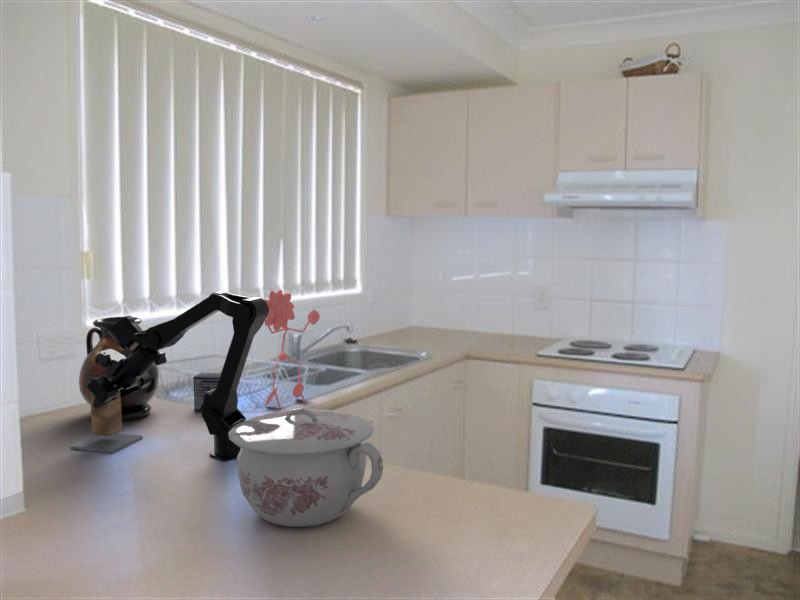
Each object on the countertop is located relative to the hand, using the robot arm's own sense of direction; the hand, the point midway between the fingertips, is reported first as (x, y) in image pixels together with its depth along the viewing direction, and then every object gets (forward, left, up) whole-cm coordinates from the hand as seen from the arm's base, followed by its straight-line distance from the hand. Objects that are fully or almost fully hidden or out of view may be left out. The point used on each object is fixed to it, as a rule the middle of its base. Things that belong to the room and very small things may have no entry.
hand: (101, 404), depth 177 cm
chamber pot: (-70, -6, -10) cm, 71 cm away
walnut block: (-1, -1, -7) cm, 7 cm away
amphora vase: (+21, -16, -10) cm, 28 cm away
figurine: (-1, -56, -10) cm, 57 cm away
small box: (+7, -38, -10) cm, 40 cm away
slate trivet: (-1, -1, -10) cm, 10 cm away
